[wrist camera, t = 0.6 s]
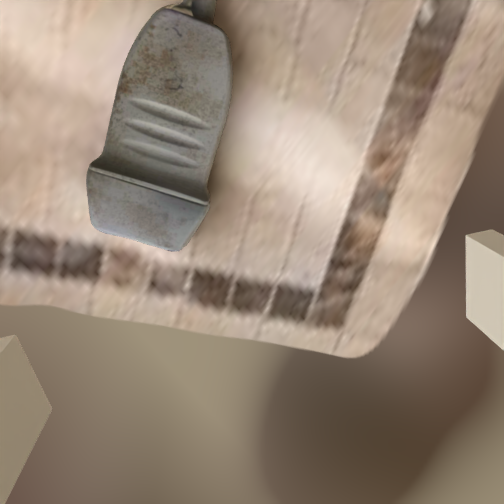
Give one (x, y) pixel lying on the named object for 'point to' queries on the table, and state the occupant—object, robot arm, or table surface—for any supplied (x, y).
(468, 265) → the robot arm
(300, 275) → the table surface
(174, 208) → the handheld device
